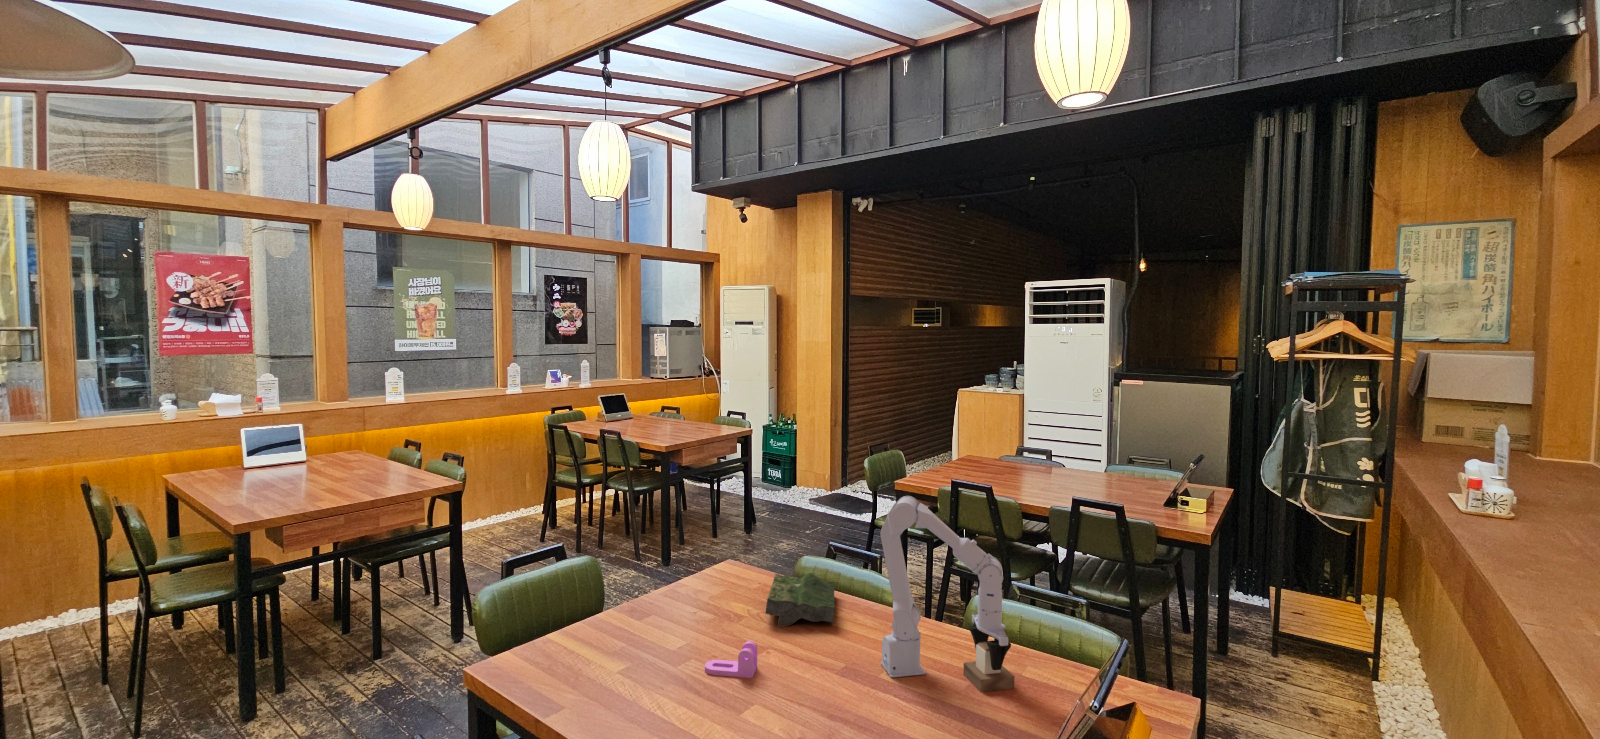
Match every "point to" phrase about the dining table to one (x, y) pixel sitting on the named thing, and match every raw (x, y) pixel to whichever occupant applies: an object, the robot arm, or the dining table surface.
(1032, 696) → the dining table surface
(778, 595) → the landscape model
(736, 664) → the bracket
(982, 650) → the cream cardboard box
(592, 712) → the dining table surface
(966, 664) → the block
